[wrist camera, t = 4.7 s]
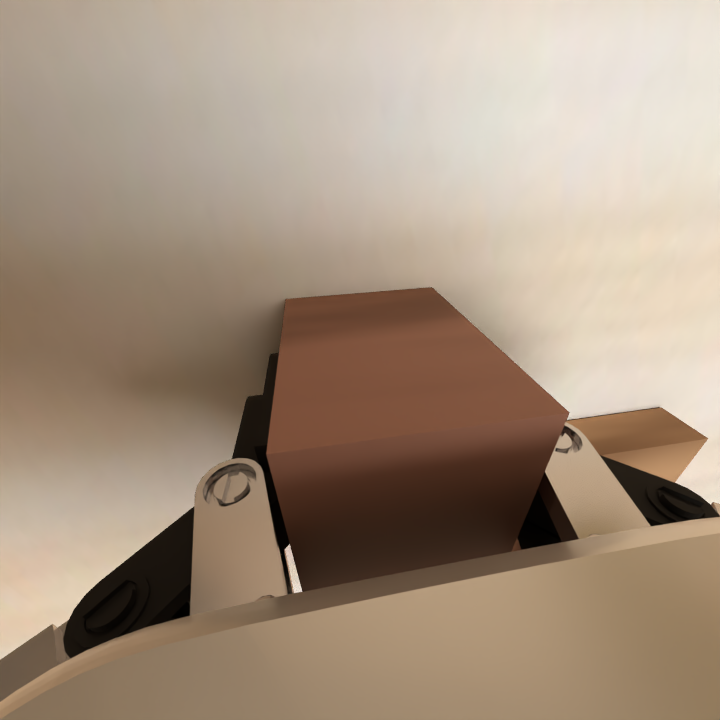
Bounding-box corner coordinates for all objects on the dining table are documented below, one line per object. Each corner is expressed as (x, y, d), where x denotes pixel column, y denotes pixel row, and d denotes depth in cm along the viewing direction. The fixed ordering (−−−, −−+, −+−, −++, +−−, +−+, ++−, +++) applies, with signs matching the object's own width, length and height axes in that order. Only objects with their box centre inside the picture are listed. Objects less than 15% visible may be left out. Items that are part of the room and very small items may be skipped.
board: (317, 455, 13) (319, 500, 11) (661, 407, 15) (709, 439, 13) (334, 576, 18) (338, 620, 16) (586, 529, 20) (614, 564, 18)
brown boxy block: (286, 298, 9) (265, 454, 4) (431, 287, 10) (569, 412, 5) (322, 529, 16) (332, 703, 11) (410, 515, 16) (460, 674, 11)
